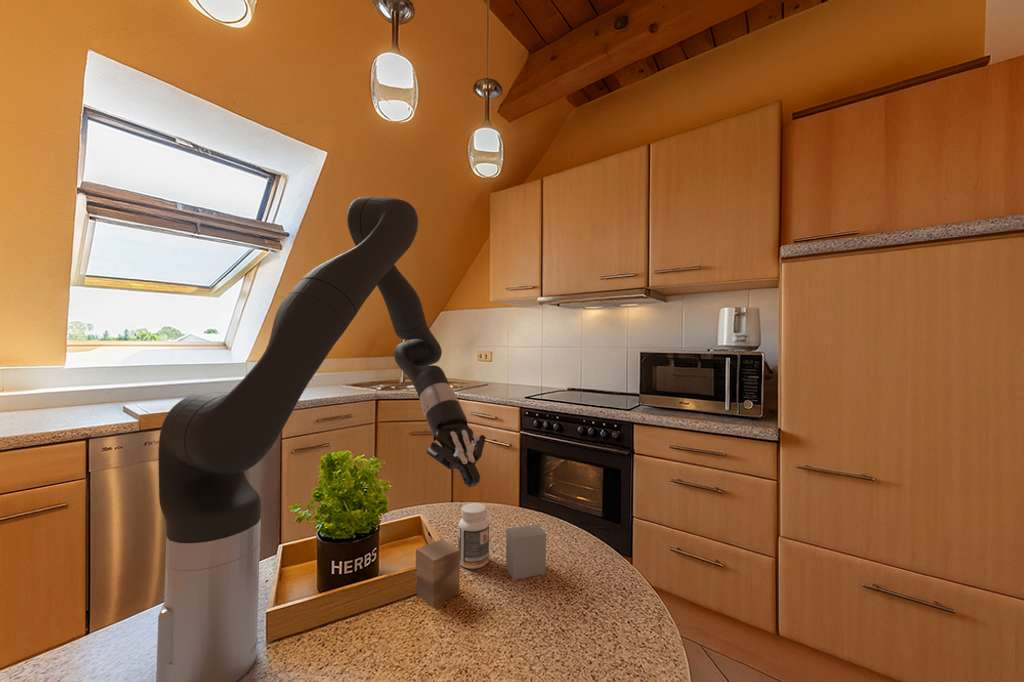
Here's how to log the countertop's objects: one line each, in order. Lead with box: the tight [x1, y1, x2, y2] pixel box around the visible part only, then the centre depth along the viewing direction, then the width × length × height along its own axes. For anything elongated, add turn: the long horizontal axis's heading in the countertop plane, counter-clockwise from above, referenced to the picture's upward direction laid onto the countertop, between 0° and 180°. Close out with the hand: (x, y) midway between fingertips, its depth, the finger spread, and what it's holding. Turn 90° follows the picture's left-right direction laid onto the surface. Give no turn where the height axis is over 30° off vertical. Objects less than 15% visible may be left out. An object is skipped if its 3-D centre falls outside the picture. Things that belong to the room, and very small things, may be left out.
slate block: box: [505, 524, 547, 581], centre depth 72 cm, size 6×4×7 cm, turn 110°
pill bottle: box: [457, 502, 490, 570], centre depth 74 cm, size 6×6×10 cm
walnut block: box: [415, 538, 461, 608], centre depth 65 cm, size 5×5×7 cm
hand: (474, 484), depth 75 cm, fingers closed
